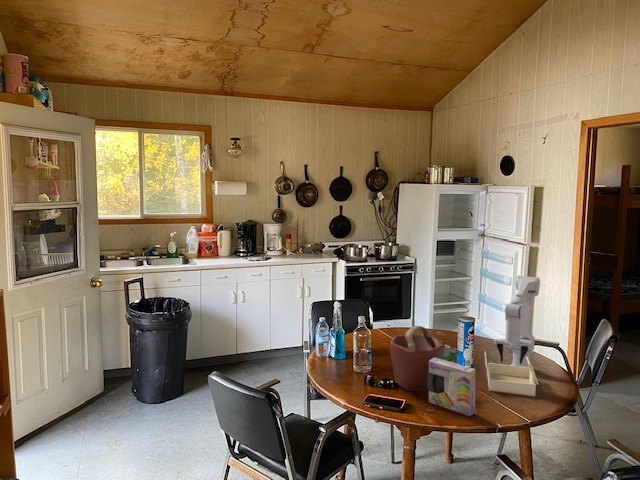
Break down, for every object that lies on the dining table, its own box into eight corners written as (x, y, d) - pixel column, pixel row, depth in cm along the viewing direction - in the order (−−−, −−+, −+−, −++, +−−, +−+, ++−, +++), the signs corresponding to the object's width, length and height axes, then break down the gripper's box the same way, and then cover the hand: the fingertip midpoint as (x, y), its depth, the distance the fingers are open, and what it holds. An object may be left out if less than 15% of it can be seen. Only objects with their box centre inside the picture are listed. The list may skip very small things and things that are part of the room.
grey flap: (486, 362, 226) (485, 362, 226) (485, 351, 226) (484, 351, 226) (488, 378, 207) (486, 378, 207) (487, 367, 207) (485, 367, 207)
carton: (487, 373, 226) (487, 362, 226) (529, 378, 221) (530, 367, 221) (488, 390, 207) (489, 379, 207) (535, 396, 202) (535, 384, 202)
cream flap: (537, 384, 201) (538, 384, 201) (531, 373, 202) (532, 373, 201) (531, 367, 220) (532, 366, 220) (526, 357, 221) (527, 356, 220)
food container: (430, 361, 241) (430, 341, 239) (440, 360, 243) (441, 340, 242) (445, 370, 229) (445, 349, 228) (456, 369, 231) (457, 348, 230)
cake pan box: (425, 401, 197) (426, 358, 195) (432, 397, 200) (433, 355, 198) (469, 418, 183) (471, 372, 181) (475, 413, 187) (478, 368, 185)
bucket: (419, 399, 198) (422, 339, 195) (375, 383, 213) (377, 327, 210) (450, 382, 216) (453, 326, 213) (408, 368, 231) (409, 316, 228)
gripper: (495, 332, 210) (493, 363, 211) (532, 336, 206) (530, 367, 207) (494, 327, 216) (493, 357, 218) (530, 331, 212) (528, 361, 214)
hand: (511, 362), depth 213 cm, fingers open, 7 cm apart
